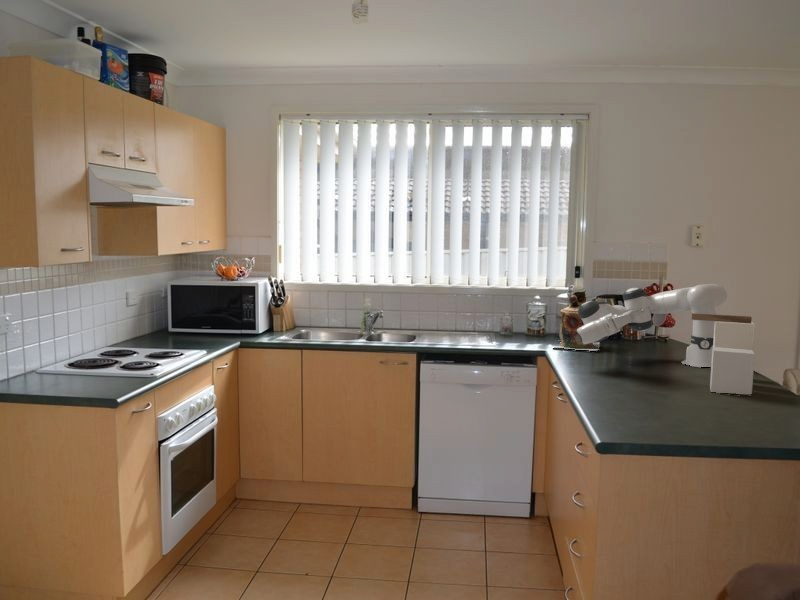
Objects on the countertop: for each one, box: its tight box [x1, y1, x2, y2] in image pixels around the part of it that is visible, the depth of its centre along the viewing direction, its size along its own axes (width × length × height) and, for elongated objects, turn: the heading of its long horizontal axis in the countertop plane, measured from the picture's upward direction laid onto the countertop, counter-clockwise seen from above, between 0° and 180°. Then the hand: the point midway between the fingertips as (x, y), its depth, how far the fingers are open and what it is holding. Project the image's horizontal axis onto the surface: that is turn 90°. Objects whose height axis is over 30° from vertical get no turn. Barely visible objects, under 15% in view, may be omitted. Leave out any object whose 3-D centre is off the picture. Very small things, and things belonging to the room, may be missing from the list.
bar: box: [691, 312, 753, 323], centre depth 269 cm, size 3×22×2 cm, turn 67°
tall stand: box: [713, 321, 756, 352], centre depth 268 cm, size 10×14×26 cm
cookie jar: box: [554, 289, 601, 352], centre depth 353 cm, size 25×25×32 cm
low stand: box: [709, 347, 756, 394], centre depth 254 cm, size 10×14×16 cm
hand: (642, 310), depth 282 cm, fingers open, 8 cm apart
